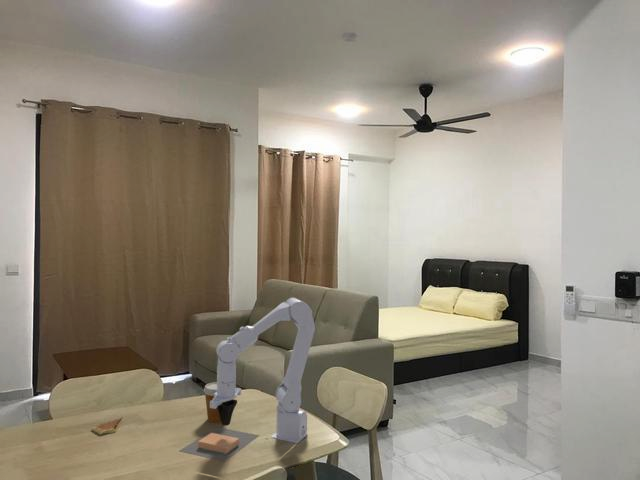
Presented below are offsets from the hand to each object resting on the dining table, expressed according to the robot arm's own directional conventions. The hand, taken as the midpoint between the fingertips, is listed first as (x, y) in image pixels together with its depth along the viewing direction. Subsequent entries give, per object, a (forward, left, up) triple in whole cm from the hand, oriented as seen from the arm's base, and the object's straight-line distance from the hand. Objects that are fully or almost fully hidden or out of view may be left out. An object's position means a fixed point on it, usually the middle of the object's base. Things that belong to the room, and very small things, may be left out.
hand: (225, 424), depth 154 cm
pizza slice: (+42, +6, -7) cm, 43 cm away
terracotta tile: (0, 0, -4) cm, 4 cm away
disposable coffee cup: (+13, -15, -6) cm, 21 cm away
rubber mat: (+1, +1, -6) cm, 6 cm away
